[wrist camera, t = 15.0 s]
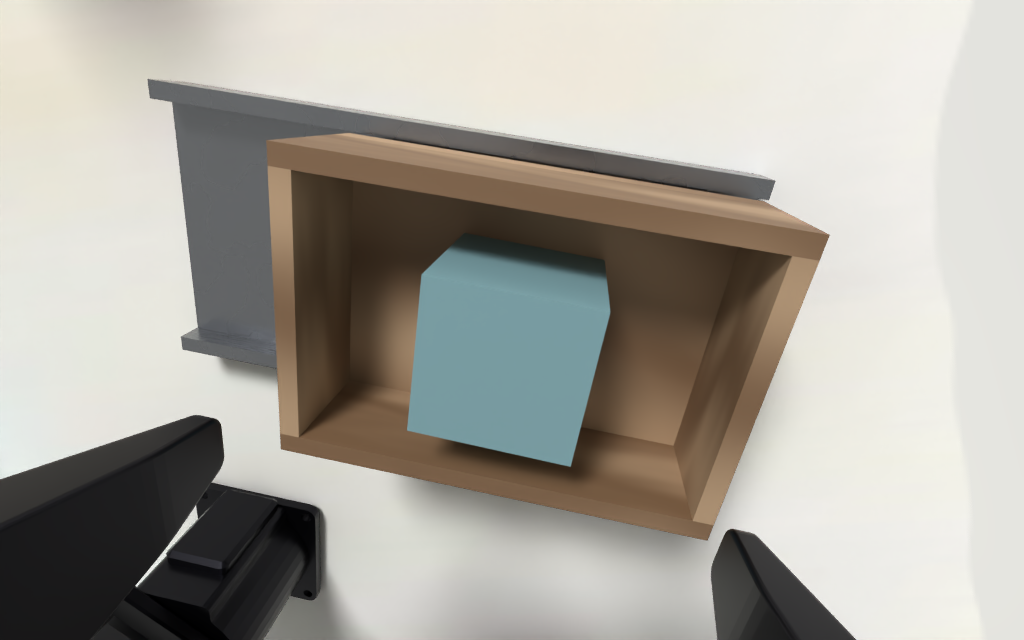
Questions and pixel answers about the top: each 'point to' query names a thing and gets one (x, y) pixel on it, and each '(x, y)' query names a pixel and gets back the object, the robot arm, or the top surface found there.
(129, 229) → the top surface
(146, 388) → the top surface
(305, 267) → the wooden drawer
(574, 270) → the part block
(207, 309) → the track
